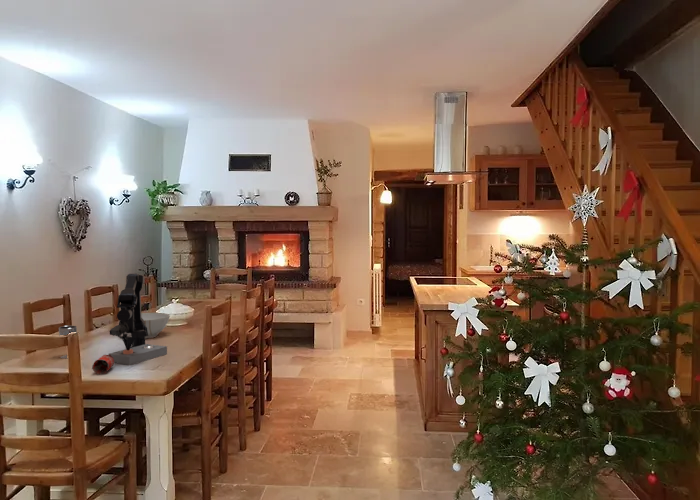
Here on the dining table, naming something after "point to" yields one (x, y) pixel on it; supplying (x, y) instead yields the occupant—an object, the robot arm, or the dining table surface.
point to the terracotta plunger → (128, 351)
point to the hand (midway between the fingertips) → (128, 350)
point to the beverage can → (103, 364)
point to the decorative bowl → (155, 322)
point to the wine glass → (67, 332)
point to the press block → (139, 354)
